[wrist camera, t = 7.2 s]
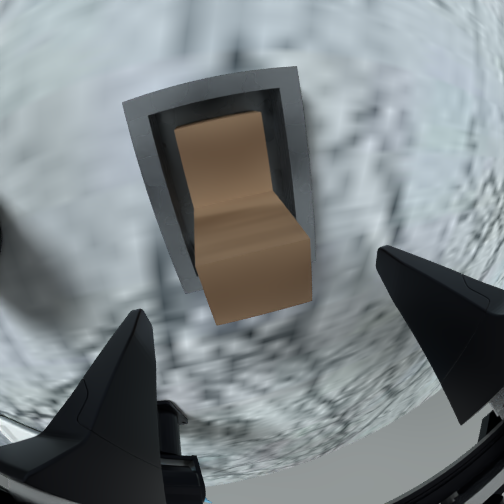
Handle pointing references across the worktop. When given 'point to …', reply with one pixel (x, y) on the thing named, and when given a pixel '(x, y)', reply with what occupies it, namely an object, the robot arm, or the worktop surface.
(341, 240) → the worktop surface
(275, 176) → the grey rectangular tray
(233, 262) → the tan toy chair
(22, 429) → the plate
